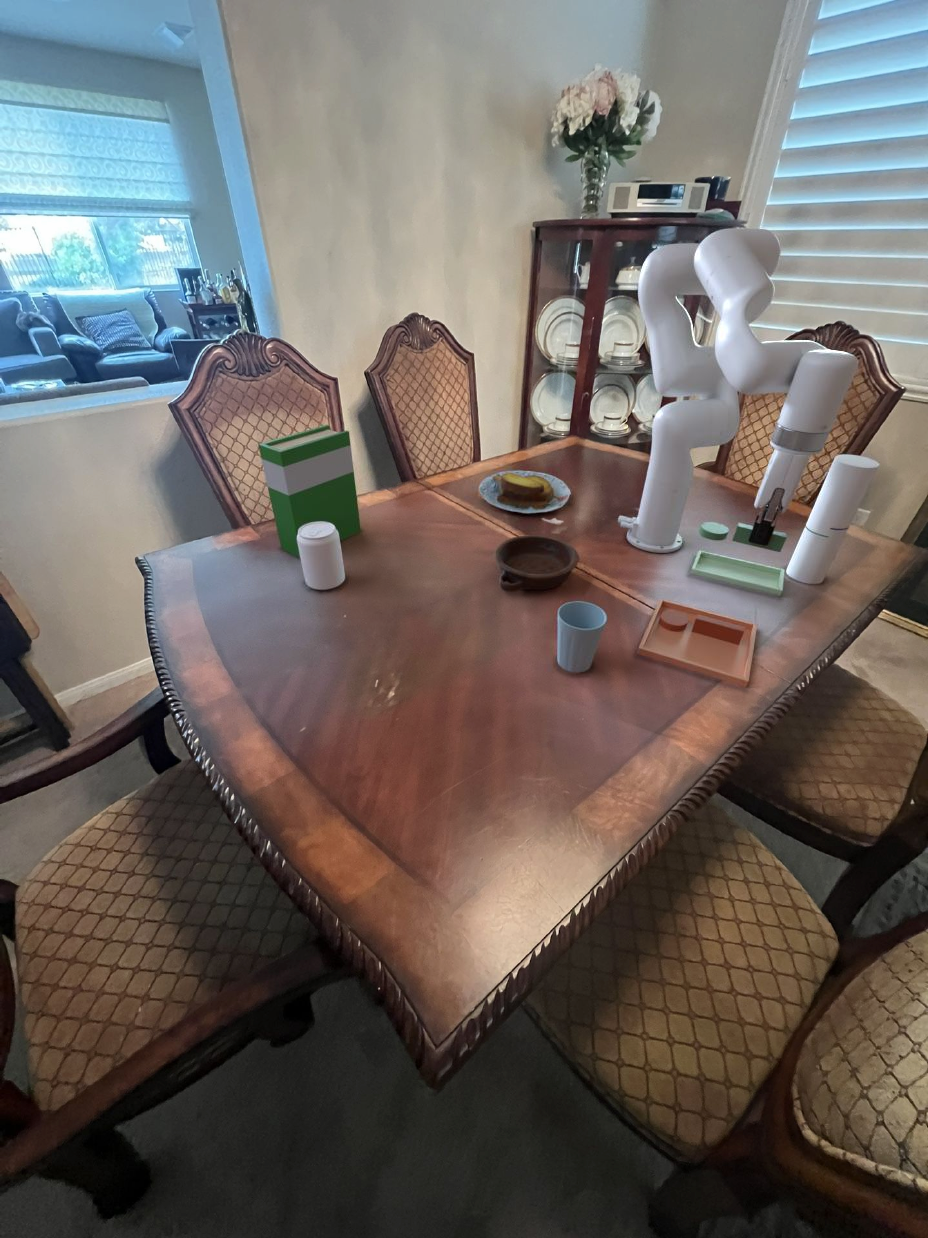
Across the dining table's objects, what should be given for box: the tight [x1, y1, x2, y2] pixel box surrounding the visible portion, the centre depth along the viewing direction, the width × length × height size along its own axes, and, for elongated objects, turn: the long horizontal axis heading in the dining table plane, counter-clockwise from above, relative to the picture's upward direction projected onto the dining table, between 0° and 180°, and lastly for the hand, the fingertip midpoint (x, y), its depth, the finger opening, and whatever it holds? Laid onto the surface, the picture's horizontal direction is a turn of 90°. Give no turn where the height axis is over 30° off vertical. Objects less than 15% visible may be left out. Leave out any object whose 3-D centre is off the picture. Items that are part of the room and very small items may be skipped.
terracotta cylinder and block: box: [659, 610, 745, 645], centre depth 95 cm, size 14×5×3 cm, turn 61°
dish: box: [494, 534, 580, 592], centre depth 111 cm, size 18×22×5 cm
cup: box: [556, 600, 608, 674], centre depth 86 cm, size 8×8×10 cm
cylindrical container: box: [785, 453, 880, 585], centre depth 106 cm, size 7×7×25 cm
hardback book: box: [257, 424, 362, 560], centre depth 118 cm, size 18×7×24 cm, turn 141°
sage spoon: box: [698, 521, 788, 553], centre depth 96 cm, size 14×5×3 cm, turn 60°
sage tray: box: [689, 549, 786, 597], centre depth 112 cm, size 17×9×2 cm, turn 62°
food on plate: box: [477, 469, 572, 514], centre depth 143 cm, size 25×25×7 cm
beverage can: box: [297, 521, 346, 591], centre depth 106 cm, size 8×8×12 cm
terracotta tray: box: [636, 597, 758, 688], centre depth 94 cm, size 17×17×2 cm
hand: (758, 539), depth 95 cm, fingers closed on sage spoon, 1 cm apart
